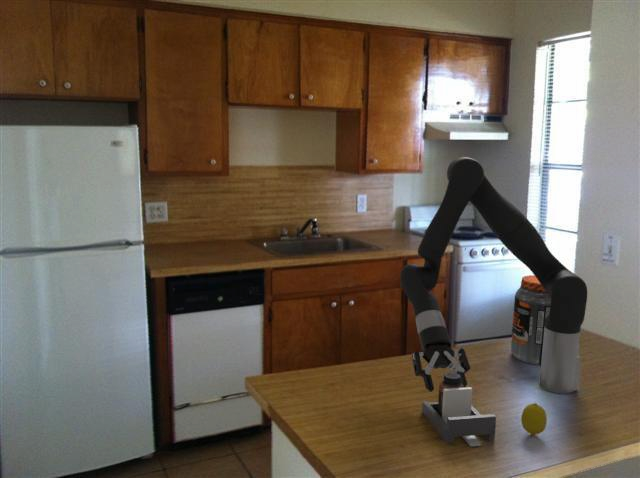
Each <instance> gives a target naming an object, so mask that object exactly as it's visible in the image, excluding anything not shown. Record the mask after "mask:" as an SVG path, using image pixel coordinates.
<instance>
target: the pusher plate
mask: <svg viewBox="0 0 640 478" xmlns="http://www.w3.org/2000/svg"><path fill="white" fill-rule="evenodd" d="M472 399H473V388H472V387H471V386H466V387H464V388H449V389H443V405H442V419H443V420H444V421H445V422H446V424H447V418H448V417H461V416H471V405H472V402H473V401H472ZM461 438H463V440H464V441H465V442H466V443H467V444H468V445H469V446H470V447H480V446H481V444H482V443H481V441H479V439H478V438H477V437H476V435H471V436H461Z"/></svg>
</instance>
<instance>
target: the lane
mask: <svg viewBox="0 0 640 478" xmlns="http://www.w3.org/2000/svg"><path fill="white" fill-rule="evenodd" d="M421 409H422V410H421V413H422V414H423V415H424V417H425V419H427V420H428V422H429V423H430V425H432V427H433V428H434V429H435V431H436V432H437V433H438V434H439V436H440V437H441V438H442V440H443V441H444V443H446V444H447V445H448V446H450V445H453V444H454V438H456V437H459V438H460V437H462V436H471V435H474V436H480V435H481V436H482V435H483V436H484V438H486V439H487V440H488V441H489V442H495V436H496V426H497V425H496V424H497V416H496V415H495V414H494V413H492V414H491V413H489V414H481V413H480V412H479V411H478V410H477V409H476V408H475V407H474V406H473V405H472V404H471V416H461V417H448V418H447V424H446V422H445V421H444V420H443V419H442V418H441V417H440V415H439V414H438V401H434V402H429V401H428V400H423V401H422V407H421Z"/></svg>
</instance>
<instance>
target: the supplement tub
mask: <svg viewBox="0 0 640 478" xmlns="http://www.w3.org/2000/svg"><path fill="white" fill-rule="evenodd" d="M513 304H514V305H513V314H512V315H513V316H512V327H511V328H512V329H511V342H510V353H511V354H512V356H513V357H514V358H516V359H517V360H520V361H522V362H523V363H527V364H531V365H537V366H541V359H542V348H543V337H544V326H545V318H546V317H547V316H548V315H549V312H550V305H551V298H550V297H549V295H548V294H547V292H546V291H545V289H544V288H543V286H542V285H541V283H540V282H539V281H538V279H537V278H536V277H535V275H534V274H531V275H525V276H523V277H522V278H521V281H520V287H519V288H517V290H516V291H515V294H514V301H513Z"/></svg>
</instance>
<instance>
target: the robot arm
mask: <svg viewBox="0 0 640 478" xmlns="http://www.w3.org/2000/svg"><path fill="white" fill-rule="evenodd" d="M446 178H447V181H448V184H447V187H446V190H445V194H444V197H443V199H442V201H441V203H440V205H439V207H438V209H437V211H436V213H435V214H434V216H433V217H432V219H431V221H430V223H429V225H428V226H427V228H426V230H425V232H424V235H423V237H422V239H421V241H420V244H419V246H418V248H417V254H418V256H419V257H420V258H422V259H423V260H424V264H423V265H418V264H415V263H414V264H413V263H409V264H406V265H404V266H403V267H402V270H401V272H400V276H399V279H400V280H399V281H400V284H401V288H402V289H403V292H404V293H405V295H406V297H407V299H408V300H409V302H410V303H411V304H410V305H412V309H413V313H414V317H415V323H416V324H415V325H416V329H417V330H416V332H417V334H418V337H419V342H420V346H421V349H422V351H420V352H419V350H415V351H414V352H413V353H412V355H411V360H412V366H413V371H414V374H415V376H416V377H421V378H422V379H423V382H424V385H425V389H426V390H427V391H428V393H432V392H433V391H434V389H435V387H434V382H433V378H432V375H431V374H430V373H431V371H432V369H433V368H434V369H435V370H437V369H439V368H441V369H446V368H448V370H450V371H451V372H452V373H457V374H459V375H460V376H461V379H460V380H461V381H460V383H461V384H463V386H464V387H468V381H467V378H466V375H465V374H467V373H468V371H470V370H471V366H470V363H469V359H468V357H467V355H466V354H467V353H466V351H465V349H464V348H462V347H461V348H460V349H457V350H454V349H453V348H452V345H451V339H450V337H449V333H448V328H447V325H446V321H445V319H444V317H443V314H442V311H441V307H440V303H439V301H438V298H437V296H436V294H433V293H432V292H431V291H432V290H434V289H435V287H436V286H437V285H438V284H437V283H438V281H439V276H440V270H441V265H442V258H443V256H444V254H445V253H446V250H447V248H448V246H449V243H450V242H451V238H452V236H453V234H454V232H455V230H456V227H457V225H458V223H459V221H460V218H461V217H462V215H463V213H464V211H465V209H466V207H467V206H468V204H469V203H471V205H473V206H474V207H475V209H476V210H477V211H478V213H479V214H480V216H481V217H482V218H483V221H484V222H485V223H486V225H487V226H488V227H489V228H490V229H491V232H493V234H494V235H495V237H497V239H498V240H499V241H500V242H501V243H502V245H504V247H505V248H506V249H507V250H508V251H509V252H510V253H511V254H513V256H514V257H516V259H518V260H519V262H521V263H522V264H524V265H525V266H526V267H527V268H528V269H529V270H530V271H531V273H532V275H535V277H536V278H537V279H538V281H539V282H540V283H541V285H542V286H543V288H544V289H545V291H546V292H547V294H548V295H549V297H550V298H551V305H550V312H549V315H548V316H547V317H546V318H545V326H544V337H543V348H542V359H541V365H540V370H539V372H540V373H539V379H538V380H539V382H538V383H539V384H538V385H539V386H540V387H541V388H542V389H544V390H546V391H548V392H551V393H556V394H566V395H567V394H571V393H574V392H575V391H578V388H579V380H580V379H579V378H580V369H581V357H580V356H579V344H580V335H581V328H582V325H583V323H584V322H585V321H584V320H585V315H586V310H587V309H586V308H587V302H588V287H587V284H586V282H585V280H583V279H582V278H581V277H580V276H578V275H577V274H575V273H574V272H572V271H571V270H569V269H568V268H567V267H566V266H565V265H564V264H562V262H561V261H560V260H559V259H557V258H556V257H555V255H553V253H552V252H551V251H550V250H549V248H548V246H547V245H546V243H545V240H544V239H543V238H542V236H541V234H540V233H539V232H538V230H537V229H536V227H535V226H534V225H533V223H531V222H530V220H529V219H528V217H526V216H525V214H523V212H522V211H520V210H519V209H518V208H517V206H515V205H514V204H513V203H512V202H511V201H509V200H508V199H507V198H506V197H504V196H503V195H502V194H501V192H499V191H498V190H497V189H496V188H495V187H494V186H493V184H492V183H491V182H490V181H489V179H488V178H487V176H486V175H485V171H484V167H483V166H482V164H481V163H480V162H479V161H478V160H476V159H475V158H471V157H468V156H461V157H460V156H459V157H457V158H455V159H453V160H452V161H451V162H450V163H449V165H448V167H447V171H446ZM454 357H455V358H456V359H455V358H454ZM422 359H424V360H425V361H426V362H427V364H426V367H425V368H424V369H423V366H422V361H421V360H422ZM457 359H458V361H457Z"/></svg>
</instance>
